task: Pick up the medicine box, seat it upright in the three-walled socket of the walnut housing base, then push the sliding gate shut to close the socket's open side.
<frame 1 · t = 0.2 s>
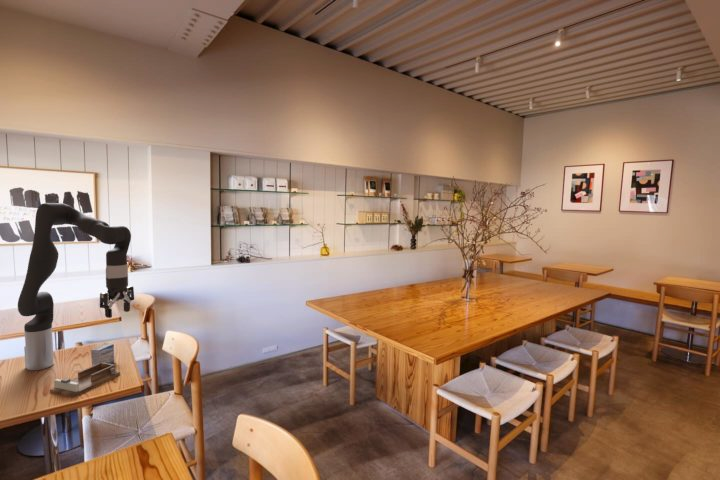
hand: (118, 314, 153), 29 cm above the table, fingers open, 8 cm apart
medicine box: (103, 365, 170), on the table
gate: (65, 384, 145), point 3 cm above the table, slide at 0.0 cm
housing: (86, 382, 153), on the table
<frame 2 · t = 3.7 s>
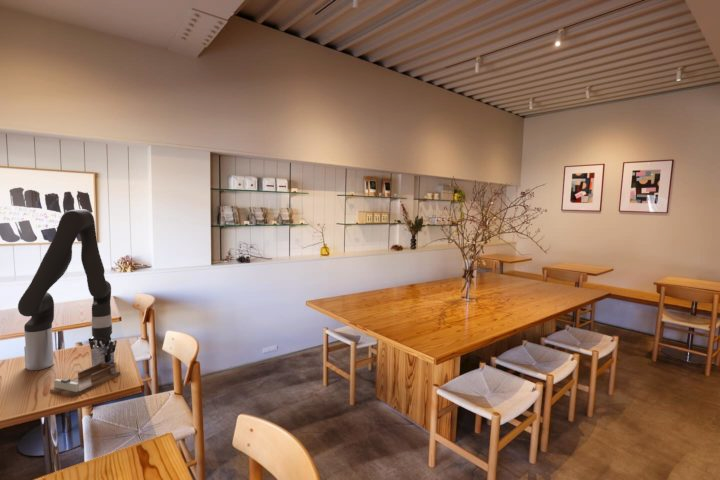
hand: (103, 360, 170), 2 cm above the table, fingers closed on medicine box, 4 cm apart
medicine box: (103, 365, 170), on the table, touching gripper
everything else where it was.
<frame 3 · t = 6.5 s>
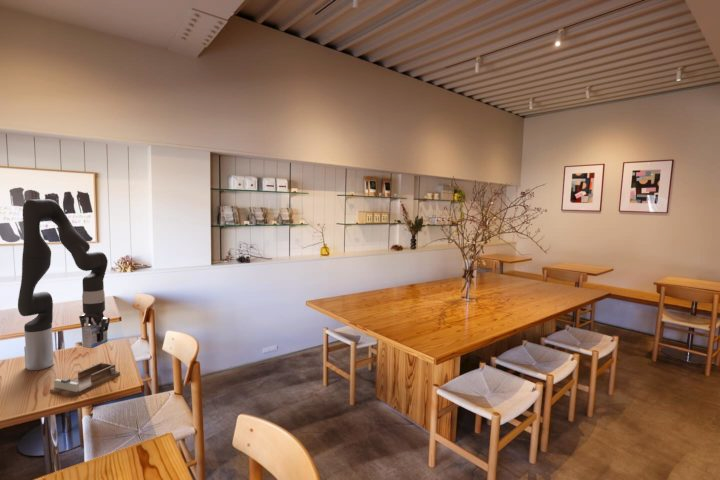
hand: (95, 340, 156), 17 cm above the table, fingers closed on medicine box, 4 cm apart
medicine box: (95, 345, 156), point 14 cm above the table, touching gripper
everything else where it was.
when the fingers open (4 cm above the table, at t = 9.4 s): medicine box drops 1 cm, resting on housing.
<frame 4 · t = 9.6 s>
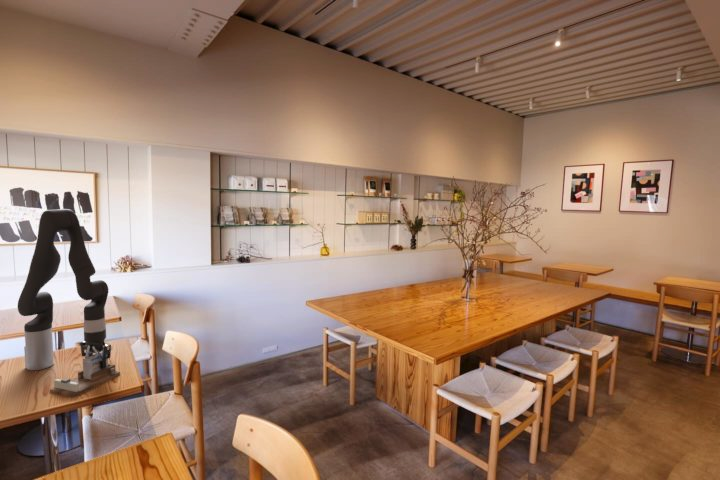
hand: (96, 367, 157), 5 cm above the table, fingers open, 6 cm apart
medicine box: (96, 375, 157), point 1 cm above the table, touching housing
everything else where it was.
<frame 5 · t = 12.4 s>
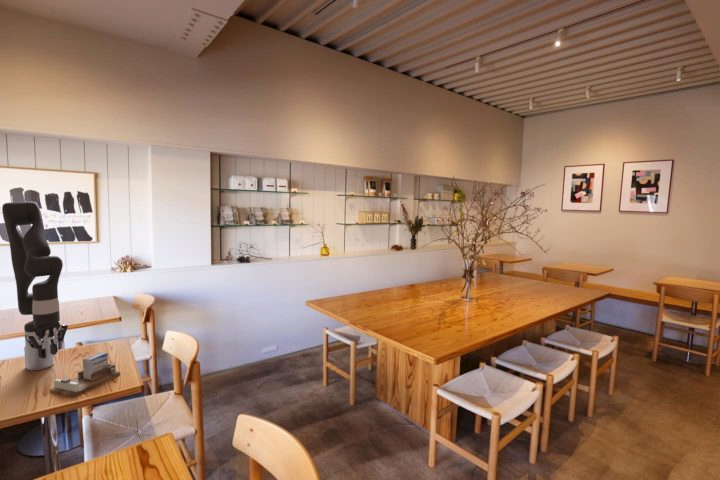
hand: (48, 355, 138), 17 cm above the table, fingers open, 3 cm apart
nothing on the table moved.
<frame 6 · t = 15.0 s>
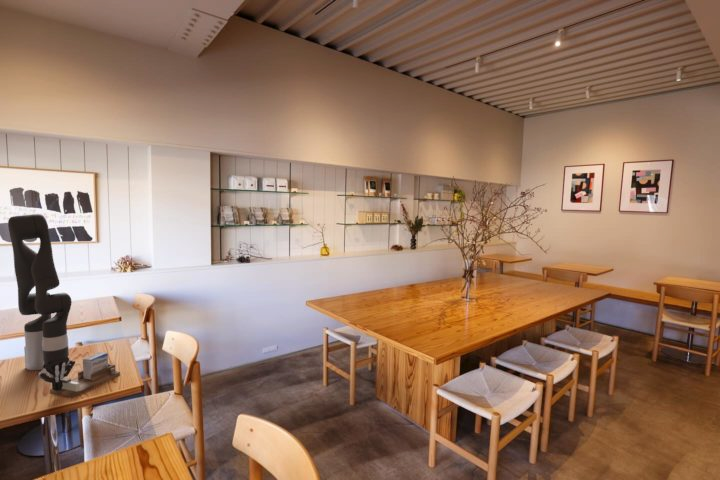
hand: (57, 390, 142), 2 cm above the table, fingers closed
gate: (66, 384, 145), point 3 cm above the table, slide at 0.2 cm, touching gripper
everything else where it was.
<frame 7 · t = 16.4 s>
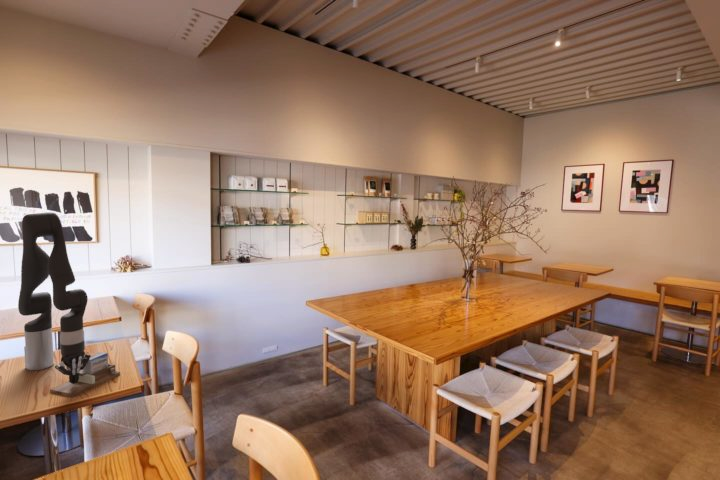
hand: (74, 382, 148), 2 cm above the table, fingers closed
gate: (82, 377, 151), point 3 cm above the table, slide at 6.5 cm, touching gripper
everything else where it was.
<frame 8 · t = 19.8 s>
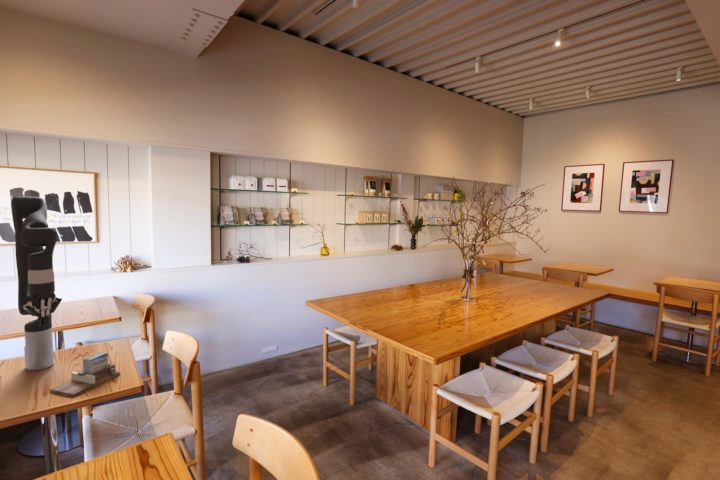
hand: (43, 325, 142), 27 cm above the table, fingers closed
gate: (82, 376, 151), point 3 cm above the table, slide at 6.6 cm
everything else where it was.
at the end: medicine box inside the target area (0.2 cm from its centre), point 1.0 cm above the table; medicine box tilted 0°; gate slide at 6.6 cm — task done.
